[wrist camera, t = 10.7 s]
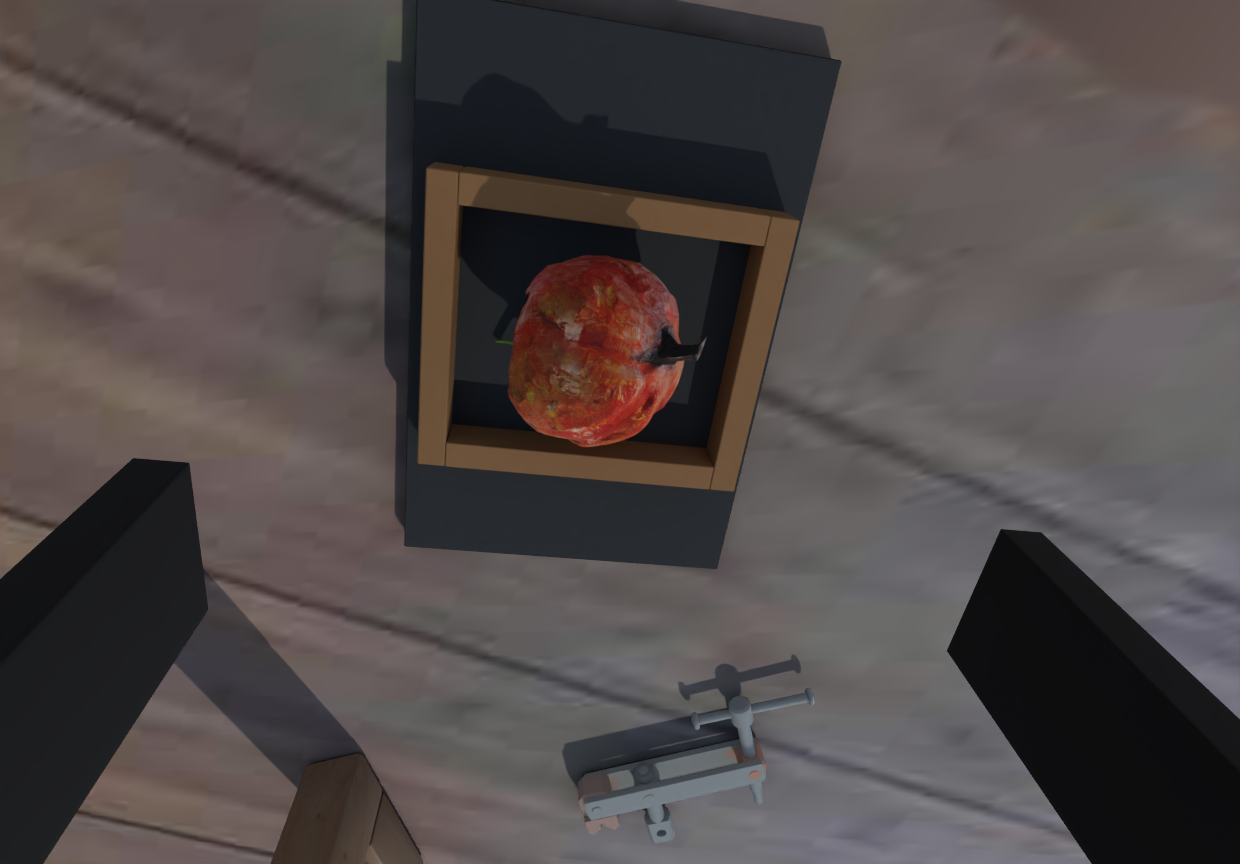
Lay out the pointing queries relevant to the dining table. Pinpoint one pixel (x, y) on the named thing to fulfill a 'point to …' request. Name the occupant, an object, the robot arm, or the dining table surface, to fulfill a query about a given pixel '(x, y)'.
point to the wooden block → (343, 819)
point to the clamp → (681, 773)
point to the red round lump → (596, 350)
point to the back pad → (595, 225)
